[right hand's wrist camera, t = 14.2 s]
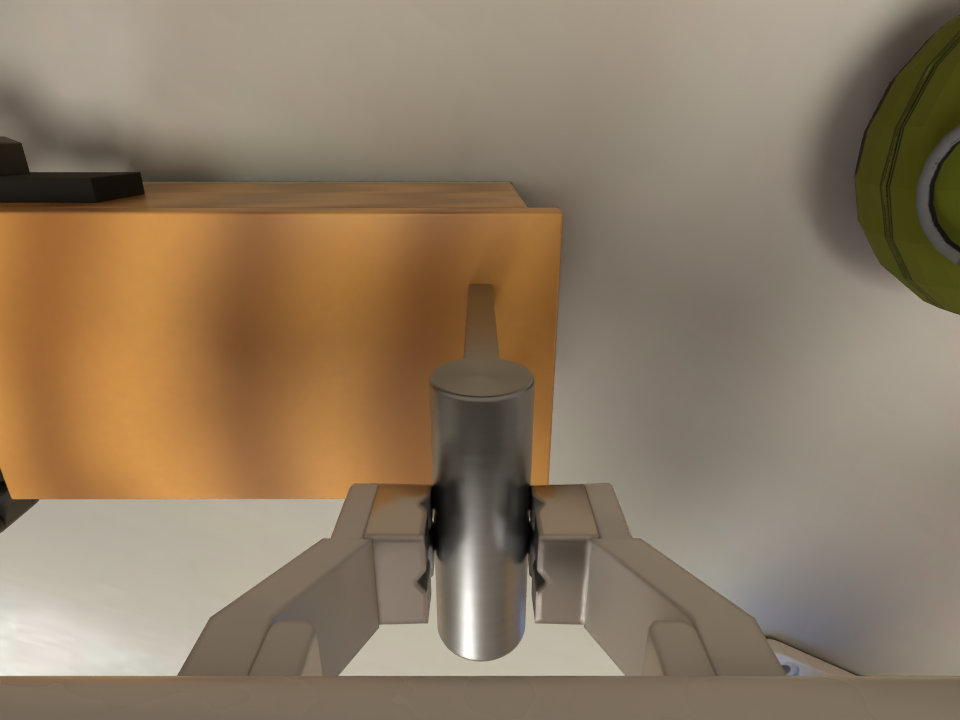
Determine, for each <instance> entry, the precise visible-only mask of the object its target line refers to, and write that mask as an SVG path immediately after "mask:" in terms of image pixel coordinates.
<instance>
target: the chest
mask: <svg viewBox="0 0 960 720" xmlns="http://www.w3.org/2000/svg"><path fill="white" fill-rule="evenodd" d="M143 187H144V192H145V194H143V195H137V196H132V197H126V198H121V199H115V200H110V201H104V202H99V203H0V208H527V206H526V205H525V203H524V202H523V200H522V199H521V197H520V196H519V194H518V193H517V191H516V190H515V188H514V187H513V185H512V182H143Z"/></svg>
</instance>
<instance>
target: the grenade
mask: <svg viewBox="0 0 960 720" xmlns="http://www.w3.org/2000/svg"><path fill="white" fill-rule="evenodd" d="M855 188H856V200H857V211H858V220H859V222H860V224H861V226H862V228H863V230H864V232H865V235H866V237H867V239H868V241H869V243H870V245H871V247H872V249H873V251H874V253H875V255H876V257H877V258H878V260H879V262H880V263H881V265H882V266H884V267H885V268H886V269H887V270H888V271H889V272H890V273H892V274H893V275H894V276H895V277H896V278H897V279H899V280H900V281H901V282H902V283H903V284H904V285H906V286H907V287H908V288H909V289H910V290H911V291H912V292H914V293H915V294H916V295H917V296H918V297H919V298H921V299H922V300H923V301H925V302H927V303H929V304H932V305H934V306H936V307H939V308H941V309H944V310H947V311H950V312H953V313H956V314H959V315H960V15H959V16H957V17H956V18H954V19H953V20H951V21H950V22H949V23H947V24H946V25H944V26H943V27H941V28H940V29H939V30H938V31H937V32H936V33H935V34H934V35H933V36H932V37H930V38H929V39H928V40H927V41H926V43H925V44H924V45H923V46H922V47H921V48H920V49H919V51H918V52H917V53H916V54H915V55H914V56H913V57H912V58H911V60H910V61H909V62H908V63H907V64H906V65H905V66H904V68H903V69H902V70H901V71H900V72H899V73H898V74H897V76H896V77H895V78H894V79H893V80H892V81H891V82H890V84H889V86H888V88H887V90H886V91H885V93H884V95H883V97H882V99H881V101H880V103H879V105H878V107H877V109H876V111H875V113H874V114H873V116H872V118H871V120H870V122H869V124H868V126H867V128H866V130H865V132H864V135H863V139H862V144H861V148H860V153H859V157H858V162H857V166H856V171H855Z"/></svg>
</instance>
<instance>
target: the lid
mask: <svg viewBox="0 0 960 720" xmlns="http://www.w3.org/2000/svg"><path fill="white" fill-rule="evenodd" d="M562 225H563V213H562V212H561V211H560V210H559V209H558V208H0V469H1V472H2V474H3V477H4V480H5V482H6V485H7V488H8V491H9V493H10V496H11V498H12V499H346V496H347V493H348V491H349V488H350V487H351V486H352V485H353V484H354V483H378V484H381V483H383V484H432V485H433V506H434V509H433V514H434V534H435V568H436V596H437V623H438V632H439V635H440V637H441V639H442V641H443V642H444V644H445V645H446V647H447V648H448V649H449V650H451V651H452V652H453V653H454V654H456V655H458V656H460V657H462V658H464V659H468V660H472V661H491V660H495V659H498V658H501V657H503V656H505V655H507V654H508V653H510V652H511V651H512V650H513V649H514V648H515V647H516V646H517V645H518V644H519V642H520V641H521V639H522V637H523V634H524V631H525V617H526V592H527V567H528V531H529V518H530V511H529V506H530V485H548V484H549V465H550V447H551V428H552V410H553V391H554V373H555V354H556V336H557V318H558V299H559V281H560V262H561V244H562Z"/></svg>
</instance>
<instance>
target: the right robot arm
mask: <svg viewBox="0 0 960 720" xmlns="http://www.w3.org/2000/svg"><path fill="white" fill-rule="evenodd" d="M433 509H434V506H433V485H432V484H383V483H381V484H378V483H354V484H353V485H352V486H351V487H350V488H349V491H348V493H347V496H346V499H345V501H344V504H343V507H342V509H341V512H340V515H339V517H338V520H337V523H336V526H335V528H334V531H333V534H332V536H331V539H322V540H320V541H319V542H317V543H316V544H314V545H313V546H312V547H310V548H309V549H307V550H306V551H304V552H303V553H302V554H300V555H299V556H297V557H296V558H294V559H293V560H292V561H290V562H289V563H287V564H286V565H284V566H283V567H282V568H280V569H279V570H277V571H276V572H274V573H273V574H272V575H270V576H269V577H267V578H266V579H265V580H263V581H262V582H260V583H259V584H257V585H256V586H255V587H253V588H252V589H250V590H249V591H247V592H246V593H245V594H243V595H242V596H240V597H239V598H237V599H236V600H235V601H233V602H232V603H230V604H229V605H227V606H226V607H225V608H223V609H222V610H220V611H219V612H217V613H216V614H215V615H213V616H212V617H210V619H209V620H208V622H207V624H206V626H205V628H204V629H203V631H202V633H201V635H200V636H199V638H198V640H197V642H196V643H195V645H194V647H193V649H192V651H191V652H190V654H189V656H188V658H187V659H186V661H185V663H184V665H183V666H182V668H181V670H180V672H179V674H178V675H177V676H0V720H960V676H856V675H854V674H852V673H849V672H847V671H845V670H843V669H840V668H838V667H836V666H833V665H831V664H829V663H827V662H824V661H822V660H820V659H818V658H815V657H813V656H811V655H808V654H806V653H804V652H802V651H799V650H797V649H795V648H793V647H790V646H788V645H786V644H783V643H781V642H779V641H776V640H773V639H766V637H765V636H764V634H763V632H762V630H761V629H760V627H759V625H758V623H757V622H756V620H755V618H753V617H752V616H750V615H749V614H748V613H746V612H745V611H743V610H742V609H740V608H739V607H738V606H736V605H735V604H733V603H732V602H730V601H729V600H728V599H726V598H725V597H723V596H722V595H720V594H719V593H718V592H716V591H715V590H713V589H712V588H710V587H709V586H708V585H706V584H705V583H703V582H702V581H700V580H699V579H698V578H696V577H695V576H693V575H692V574H690V573H689V572H688V571H686V570H685V569H683V568H682V567H680V566H679V565H678V564H676V563H675V562H673V561H672V560H670V559H669V558H668V557H666V556H665V555H663V554H662V553H660V552H659V551H658V550H656V549H655V548H653V547H652V546H650V545H649V544H648V543H646V542H645V541H643V540H642V539H633V538H632V536H631V533H630V530H629V528H628V525H627V523H626V520H625V517H624V515H623V512H622V510H621V507H620V504H619V502H618V499H617V497H616V494H615V492H614V489H613V486H612V485H611V484H609V483H593V484H572V485H530V506H529V511H530V520H531V521H530V522H529V531H528V564H529V574H530V576H531V577H532V601H533V609H534V617H535V623H546V624H581V625H584V628H585V629H586V630H587V631H588V632H589V633H590V635H591V636H592V637H593V638H594V639H595V640H596V642H597V643H598V644H599V645H600V646H601V648H602V649H603V650H604V651H605V652H606V653H607V655H608V656H609V657H610V658H611V659H612V661H613V662H614V663H615V664H616V665H617V666H618V668H619V669H620V670H621V671H622V672H623V674H624V675H625V676H338V675H339V674H340V673H341V672H342V671H343V669H344V668H345V667H346V666H347V665H348V664H349V662H350V661H351V660H352V659H353V658H354V656H355V655H356V654H357V653H358V652H359V651H360V649H361V648H362V647H363V646H364V645H365V643H366V642H367V641H368V640H369V639H370V638H371V636H372V635H373V634H374V633H375V632H376V630H377V629H378V628H379V625H382V624H416V623H428V617H429V609H430V600H431V577H432V576H433V572H434V559H435V534H434V522H433V521H432V518H433Z"/></svg>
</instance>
